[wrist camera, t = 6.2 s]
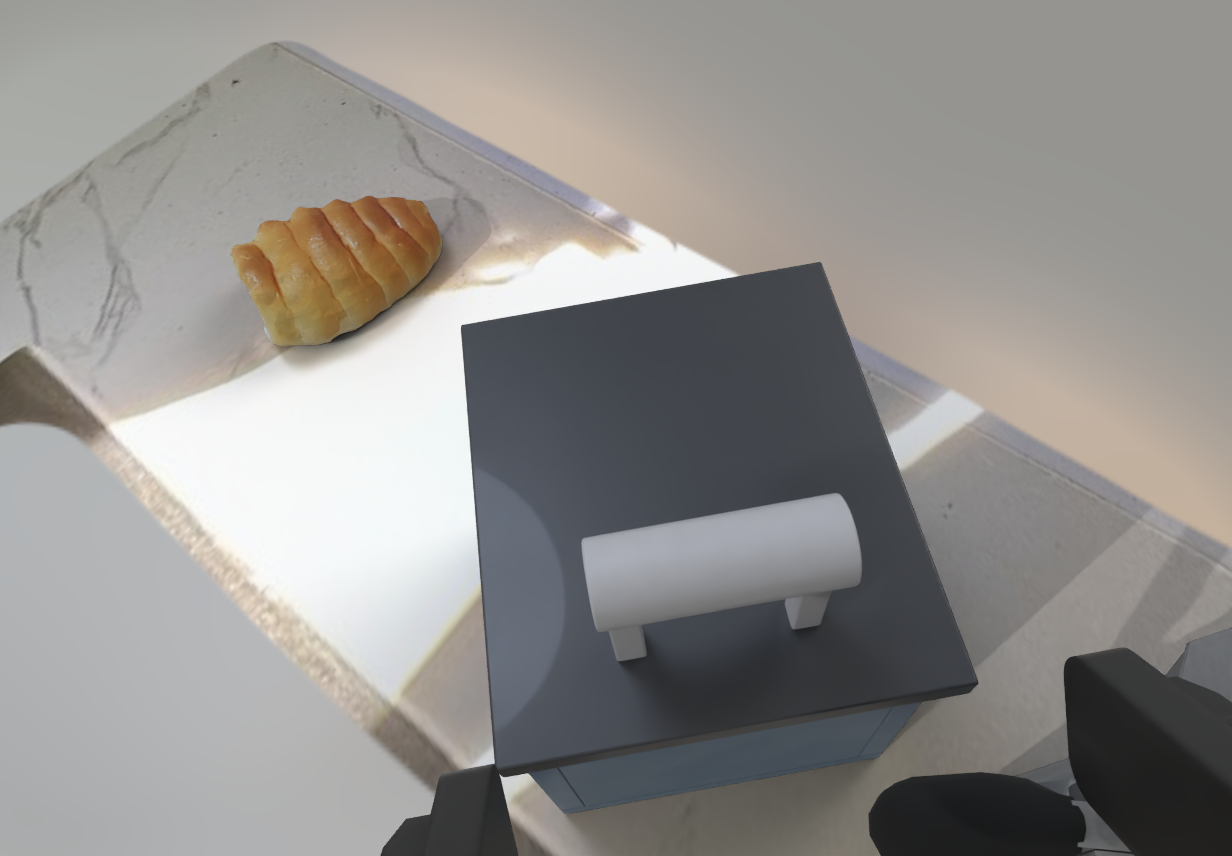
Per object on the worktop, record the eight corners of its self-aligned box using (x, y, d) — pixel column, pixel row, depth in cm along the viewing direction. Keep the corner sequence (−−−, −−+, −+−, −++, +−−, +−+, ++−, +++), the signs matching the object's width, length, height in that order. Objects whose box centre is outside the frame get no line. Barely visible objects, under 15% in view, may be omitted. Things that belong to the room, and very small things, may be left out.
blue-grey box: (878, 757, 29) (957, 659, 20) (563, 814, 29) (499, 742, 20) (789, 459, 36) (818, 280, 26) (528, 505, 35) (466, 342, 26)
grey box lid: (970, 693, 20) (1054, 604, 15) (501, 778, 20) (437, 716, 15) (818, 279, 26) (843, 126, 22) (466, 341, 26) (413, 201, 22)
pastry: (410, 198, 45) (388, 139, 42) (471, 280, 42) (452, 222, 39) (239, 283, 43) (201, 227, 40) (289, 375, 40) (252, 323, 37)
